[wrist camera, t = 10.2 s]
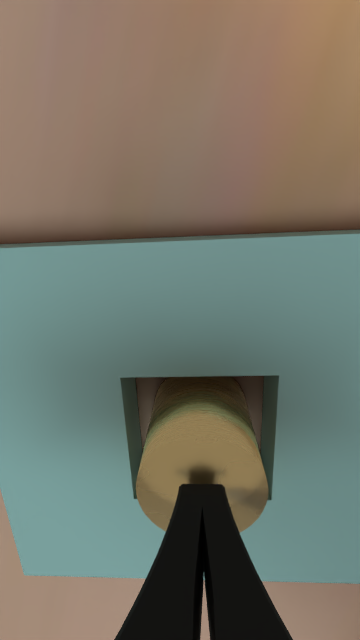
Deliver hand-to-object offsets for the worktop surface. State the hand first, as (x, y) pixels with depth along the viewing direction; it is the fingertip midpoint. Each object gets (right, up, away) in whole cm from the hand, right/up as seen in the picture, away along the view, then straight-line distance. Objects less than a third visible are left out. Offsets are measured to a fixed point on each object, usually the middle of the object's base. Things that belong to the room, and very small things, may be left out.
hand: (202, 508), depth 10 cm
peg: (0, +2, +5) cm, 6 cm away
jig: (0, +2, +5) cm, 6 cm away
